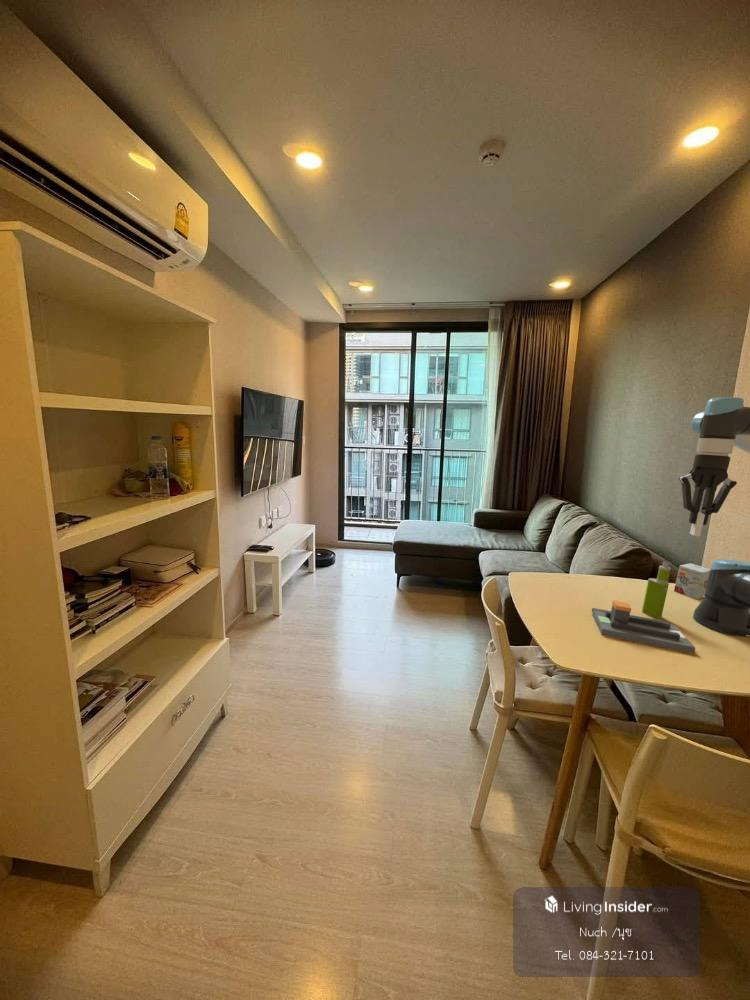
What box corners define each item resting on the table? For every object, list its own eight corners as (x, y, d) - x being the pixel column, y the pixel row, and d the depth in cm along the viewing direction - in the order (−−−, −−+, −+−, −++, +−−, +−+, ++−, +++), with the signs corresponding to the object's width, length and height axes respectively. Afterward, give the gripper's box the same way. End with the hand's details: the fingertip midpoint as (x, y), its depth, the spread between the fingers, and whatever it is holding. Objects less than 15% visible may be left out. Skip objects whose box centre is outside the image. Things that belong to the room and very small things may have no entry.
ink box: (672, 591, 158) (678, 564, 156) (684, 588, 161) (690, 562, 159) (697, 599, 150) (703, 571, 148) (708, 597, 154) (714, 569, 152)
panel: (674, 630, 123) (676, 620, 122) (693, 653, 110) (696, 642, 109) (592, 615, 131) (593, 605, 130) (601, 634, 118) (603, 624, 117)
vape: (658, 619, 131) (669, 564, 127) (639, 611, 136) (650, 559, 132) (663, 617, 132) (675, 563, 129) (645, 609, 138) (656, 558, 134)
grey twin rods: (665, 624, 127) (666, 620, 127) (669, 628, 124) (670, 624, 124) (590, 610, 134) (591, 606, 134) (592, 614, 132) (593, 610, 131)
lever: (624, 620, 123) (627, 602, 122) (627, 626, 119) (631, 608, 118) (609, 617, 124) (612, 600, 123) (612, 623, 121) (616, 605, 119)
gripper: (734, 455, 107) (715, 535, 111) (679, 452, 111) (663, 528, 115) (750, 456, 100) (729, 541, 104) (691, 452, 104) (673, 534, 108)
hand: (694, 534), depth 110 cm, fingers closed
